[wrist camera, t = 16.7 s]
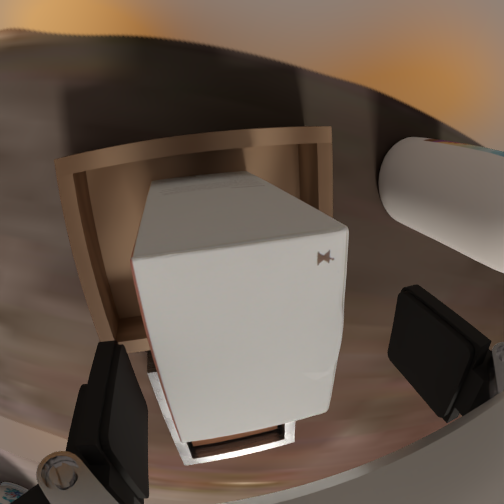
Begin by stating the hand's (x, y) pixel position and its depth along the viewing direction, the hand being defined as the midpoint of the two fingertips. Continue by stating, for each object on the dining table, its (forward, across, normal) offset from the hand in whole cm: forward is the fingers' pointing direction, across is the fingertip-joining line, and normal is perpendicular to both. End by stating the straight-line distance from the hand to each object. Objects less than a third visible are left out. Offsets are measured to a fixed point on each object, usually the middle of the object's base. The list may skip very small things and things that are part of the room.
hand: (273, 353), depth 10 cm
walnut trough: (+14, +1, 0) cm, 14 cm away
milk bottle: (+15, -17, -2) cm, 22 cm away
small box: (+13, +1, 0) cm, 13 cm away
